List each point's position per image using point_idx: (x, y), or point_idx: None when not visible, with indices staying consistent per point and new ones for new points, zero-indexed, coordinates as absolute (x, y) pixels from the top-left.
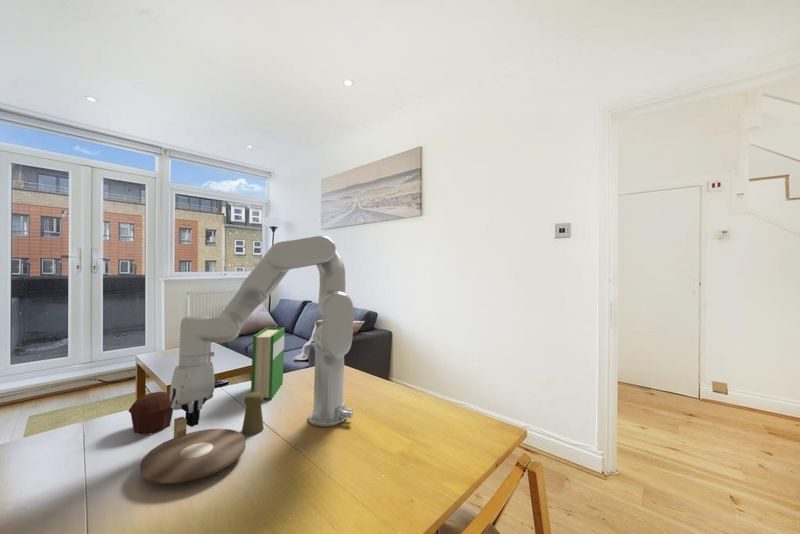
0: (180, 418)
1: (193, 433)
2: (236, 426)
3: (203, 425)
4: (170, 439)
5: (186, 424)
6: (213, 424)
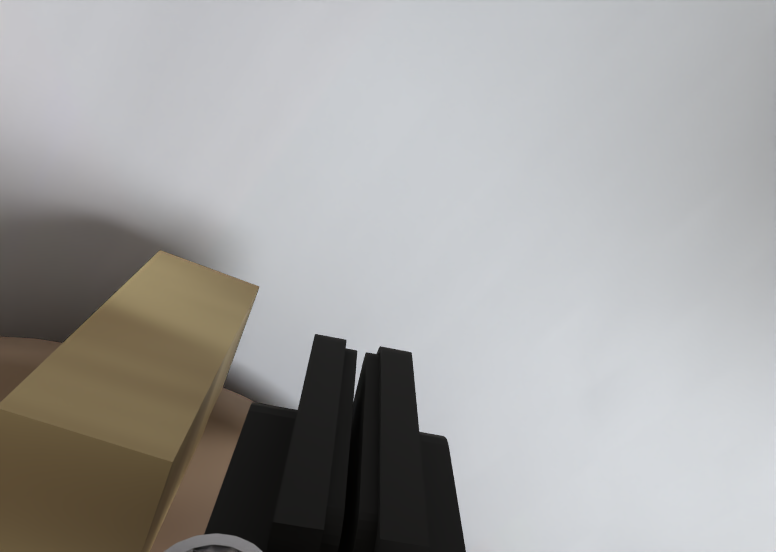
0: (86, 494)
1: None
2: (723, 487)
3: (706, 135)
4: (24, 366)
5: (151, 545)
6: (747, 236)
